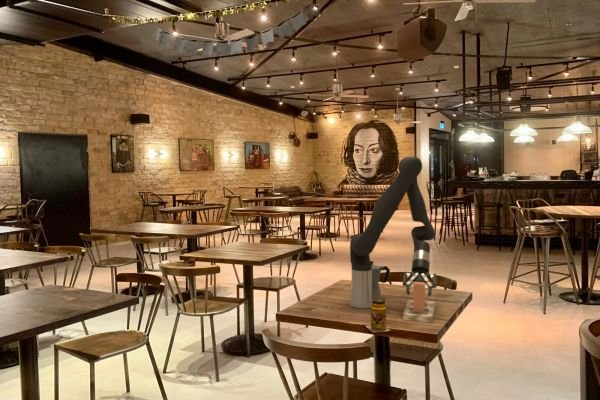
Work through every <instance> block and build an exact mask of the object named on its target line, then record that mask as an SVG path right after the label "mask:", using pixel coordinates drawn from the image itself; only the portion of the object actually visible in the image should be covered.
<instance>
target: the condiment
mask: <svg viewBox="0 0 600 400" xmlns="http://www.w3.org/2000/svg"><path fill="white" fill-rule="evenodd" d="M365 327H366V328H367V329H368V330H370V331H371V332H372V333H382V332H389V331H391V329H390V328H387V307H386V300H385V299H384V298H379V299H378V298H377V299H373V300H372V306H371V307H370V324H369V325H365Z"/></svg>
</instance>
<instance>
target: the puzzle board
mask: <svg viewBox="0 0 600 400" xmlns="http://www.w3.org/2000/svg"><path fill="white" fill-rule="evenodd" d="M435 309H436V302H435V301H433V300H432V301H431V300H425V305H424V313H422V312H413V299H408V300H407V302H406V305H405V307H404V310H403V314H402V320H403V321H410V322H421V323H434V322H433V321H434V314H435Z"/></svg>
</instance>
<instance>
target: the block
mask: <svg viewBox="0 0 600 400" xmlns="http://www.w3.org/2000/svg"><path fill="white" fill-rule="evenodd" d="M412 286H413V287H412V292H413V293H412V294H413V295H412V300H413V312H422V313H424V305H425V301H426V300H425V298H426V297H425V292H426V289H425V287H426V284H425V282H414V284H413V285H412Z"/></svg>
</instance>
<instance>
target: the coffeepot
mask: <svg viewBox="0 0 600 400" xmlns="http://www.w3.org/2000/svg"><path fill="white" fill-rule="evenodd" d="M370 261H371V264H372V300H373V299H377V298H378V299H381V298H382V294H381V293H382V292H381V288H380V284H379V281H380V278H381V273H382V271H385V276H384V277H383V280H381V281H380V282H381V283H382V284H384V283H387V280H388V278H389V275H390V272H391V269H390V268H389V267H388V266H386V265H376V264H374V261H373V260H370Z"/></svg>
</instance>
